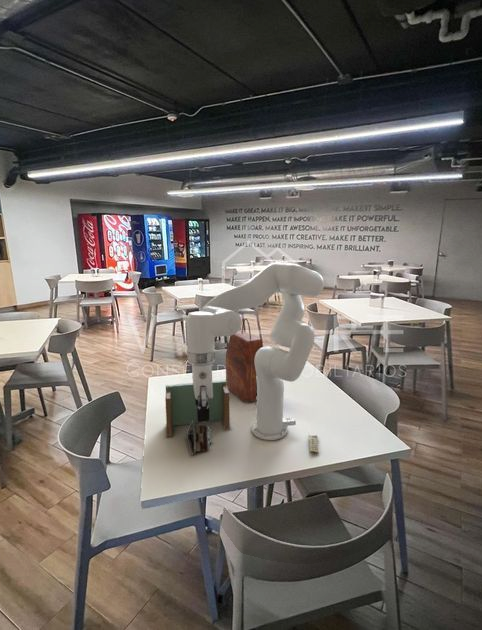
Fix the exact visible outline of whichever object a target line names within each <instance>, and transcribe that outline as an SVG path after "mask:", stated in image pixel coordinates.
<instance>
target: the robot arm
mask: <svg viewBox="0 0 482 630" xmlns="http://www.w3.org/2000/svg"><path fill="white" fill-rule="evenodd" d="M324 287H325V280H324V278H323V276H322V275H321V273H319V272H318V271H315V270H312V269H310V268H307V267H305V266H303V265H300V264H296V263H285V262H272V263H268V264H267V265H266V266H265V267H263V269H261V270H259V272H258V273H256V274H255V275H254V276H253V277H251V278H250V279H249V280H248V281H246V282H245V283H243V284H241V285H238V286H235V287H233V288H231V289H228V290H225V291H223V292H221V293H219V294H218V295H216V296H215V297H213V298H212V299H210V300H209V301H207V303H206V304H204V305H203V307H202V308H201V309H200V310H199V311H191V312H190V313H188V315H186V351H187V363H188V364H189V365H191V373H192V383H193V387H194V393H195V403H196V406H198V408H197V420H198V422H203V421H209V404H208V397H209V398H213V386H212V381H213V367H212V364H214V362H215V361H216V353H215V352H216V351H215V350H216V345H215V344H216V343H215V342H216V340H215V339H216V337H217V338H219V337H230V336H231V335H234V334H236V333H237V332H240V330H241V329H242V325H243V319H242V317H241V315H240V314H239V313H238V312H237V311H239V310H247V309H253V308H258V307H261V306H263V304H265V303H266V302H267V301H269V299H270V298H271V297H272V296H274V295H275V294H276V292H278V291H280V293H281V297H282V298H281V299H282V304H281V307H280V310H279V313H278V315H277V317H276V319H275V322H274V324H273V326H272V328H271V331H270V334H269V337H270V341H271V342H272V343H274V344H275V345H278V346H280V347H283V348H287V349H289V351H288V350H285V349H283V348H278V347H275V346H270V345H265V346H263V347H262V348H260V349H259V350H258V351H257V352H256V355H255V360H254V362H255V369H256V374H257V400H256V421H255V422H254V423H253V425H252V427H251V431H252V434H253V436H255V437H256V438H258V439H260V440H265V441H276V440H280V439H282V438H284V437H285V436H286V435H287V433H288V427H289V426H296V425H297V422H296V419H291V418H290V417H284V399H285V398H284V395H285V394H284V393H285V383H284V381H285V382H290V383H291V382H296V381H297V380H298V379H299V378H300V376H301V375H302V373H303V371H304V368H305V366H306V363H307V361H308V360H309V356H310V354H311V351H312V350H313V347H314V343H315V331H314V329H313V327H312V326H311V325H309V324H307V323H303V322H302V320H303V318H304V316H305V311H306V310H305V304H304V302H303V299H302V296H303V297H310V298H315V297H318V296H320V294H321V293H322V292H323V290H324ZM203 423H204V422H203Z"/></svg>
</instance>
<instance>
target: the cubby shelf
mask: <svg viewBox="0 0 482 630" xmlns="http://www.w3.org/2000/svg"><path fill="white" fill-rule="evenodd" d="M212 386H213V398H209V397H208V404H209V421H203V422H198V420H197V408H198V406H196V403H195V393H194V387H193V382H187V383H176V384H165V396H164V399H165V401H164V402H165V421H166V437H167V438H171V437H173V427H177V426H186V425H190V424H191V422H192V419H193V423H194V424H201V423H211V422H219V421H220V422H221V421H222V424H223V427H224V430H225V431H230V429H231V428H230V426H231V425H230V424H231V423H230V421H231V420H230V419H231V418H230V416H231V414H230V408H231V407H230V406H231V405H230V390H229V389H228V388H227V385H226V379H224V380H223V379H222V380H221V379H220V380H212Z"/></svg>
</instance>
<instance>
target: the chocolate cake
mask: <svg viewBox="0 0 482 630" xmlns="http://www.w3.org/2000/svg"><path fill="white" fill-rule="evenodd" d="M211 432H212V429H210V427H209V426H208V425H204V424H203V425H202V424H196V423H193V419H192V422H191V424H189V426H188V427H187V432H186V436H185V437H186V443H187V445H188V449H189V451H190V455H191V456H193V455H195V454H196V453H197V452H208V451H209V450H210V445H211V444H212V441H211V440H212V438H211V434H210V433H211Z"/></svg>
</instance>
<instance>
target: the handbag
mask: <svg viewBox="0 0 482 630" xmlns="http://www.w3.org/2000/svg"><path fill="white" fill-rule="evenodd" d="M245 321H246V322H247V326H248V327H247V328H248V332H246V331H244V325H245ZM262 347H264V344H263V340H262V338H259V337H257V336H254V335H253V334H251V326H250V322H249V319H248V318H245V317H244V319H243V320H242V326H241V331H238V332H237V333H236V334H234V335H231V336H229V339H228V343H227V348H226V351H225V380H226V385H227V388H228V390H229V391H230V392H231V393H233V394H234V395H235V396H236V397H237V398H239V399H240V400H241V401H242V402H243V403H251V402H255V401H257V400H256V376H257V374H256V369H255V362H254V360H255V355H256V352H257V351H258V350H259V349H260V348H262Z"/></svg>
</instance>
